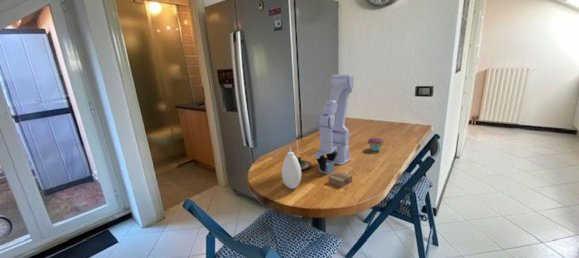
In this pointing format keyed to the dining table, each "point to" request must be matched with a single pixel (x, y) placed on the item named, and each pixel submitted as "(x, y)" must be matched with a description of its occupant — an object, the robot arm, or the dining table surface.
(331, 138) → the robot arm
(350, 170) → the dining table surface
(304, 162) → the salad bowl
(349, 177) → the walnut block
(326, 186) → the dining table surface
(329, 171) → the blue cube
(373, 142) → the cupcake
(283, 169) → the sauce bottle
